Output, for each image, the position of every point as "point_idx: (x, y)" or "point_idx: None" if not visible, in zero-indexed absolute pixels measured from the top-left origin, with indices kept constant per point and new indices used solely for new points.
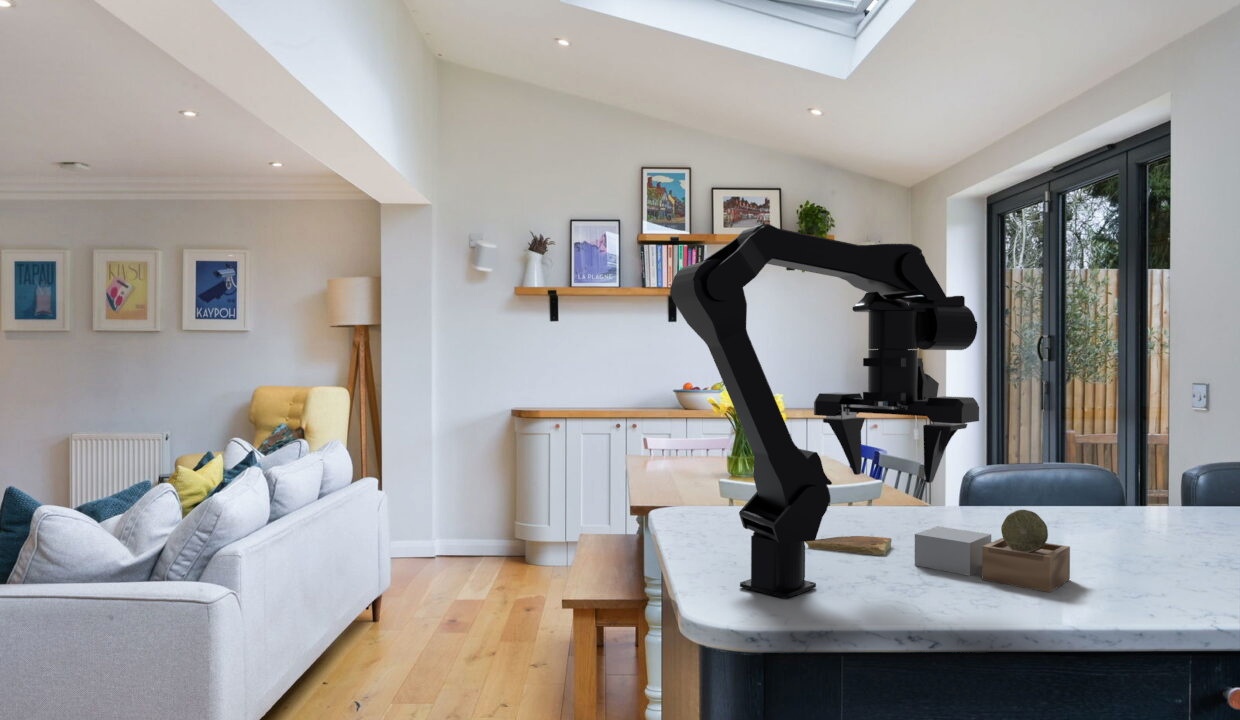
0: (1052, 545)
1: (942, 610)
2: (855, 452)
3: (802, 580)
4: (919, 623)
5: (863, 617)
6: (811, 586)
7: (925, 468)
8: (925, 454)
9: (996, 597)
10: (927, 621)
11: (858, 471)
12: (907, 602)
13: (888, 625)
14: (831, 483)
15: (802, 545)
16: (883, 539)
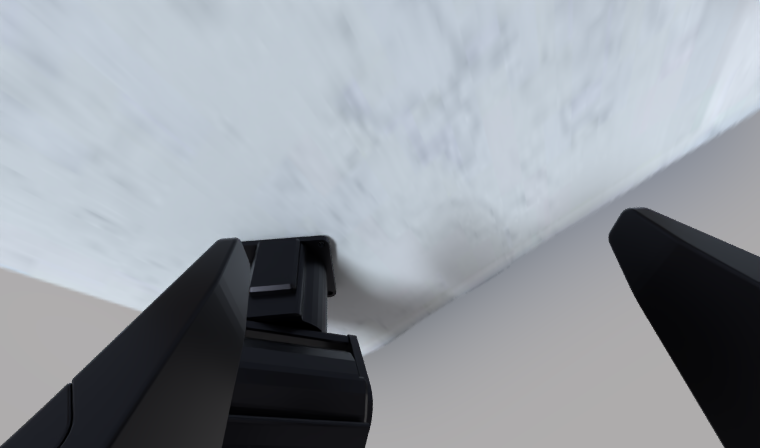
0: None
1: (523, 193)
2: (211, 387)
3: (324, 269)
4: (504, 252)
5: (441, 275)
6: (329, 251)
7: (648, 308)
8: (702, 394)
9: (613, 51)
10: (511, 241)
11: (242, 265)
12: (468, 196)
13: (474, 276)
14: (368, 424)
15: (323, 319)
16: None
